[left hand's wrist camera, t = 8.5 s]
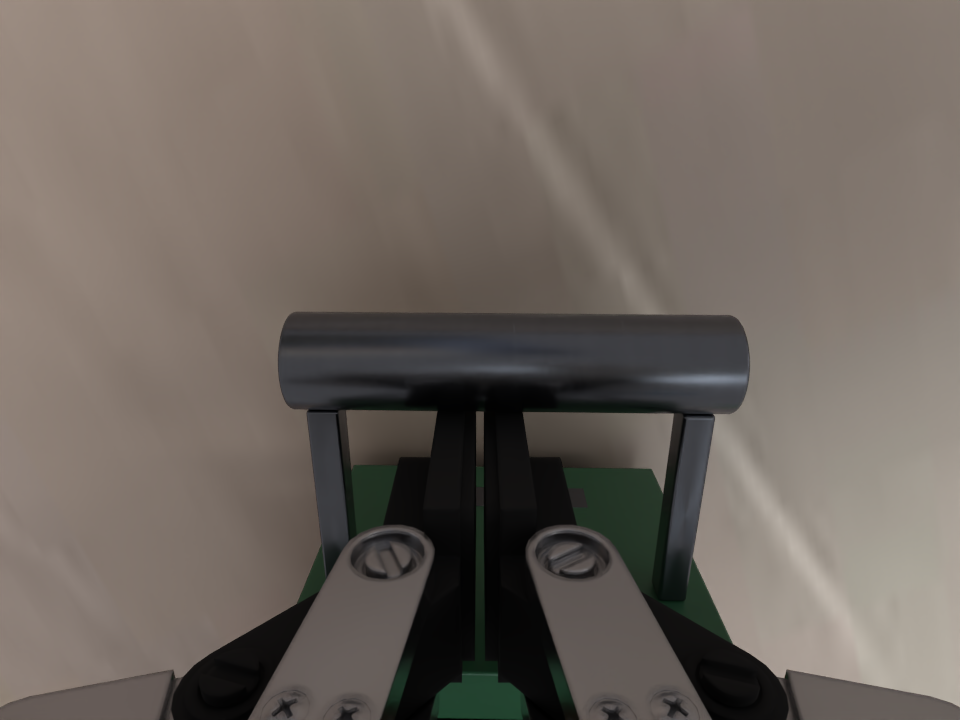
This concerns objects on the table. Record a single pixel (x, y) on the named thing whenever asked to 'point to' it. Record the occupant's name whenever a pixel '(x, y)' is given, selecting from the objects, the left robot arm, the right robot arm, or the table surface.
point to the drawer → (523, 388)
